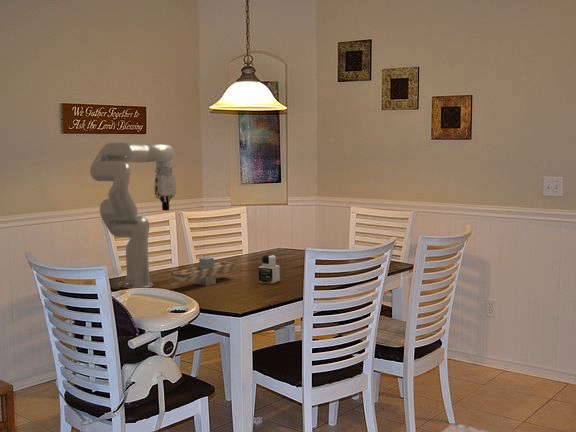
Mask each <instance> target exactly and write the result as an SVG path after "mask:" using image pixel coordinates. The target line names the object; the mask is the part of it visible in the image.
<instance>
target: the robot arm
mask: <svg viewBox="0 0 576 432" xmlns="http://www.w3.org/2000/svg"><path fill="white" fill-rule="evenodd" d="M174 155H175V150H174V148H173V146H171V145H170V144H160V143H159V144H157V143H155V144H154V143H145V142H142V143H141V142H108V143H106V144H104V145H103V146H102V148H101V149H100V150H99V152H97V155H96V156H95V158H94V160H93V161H92V163H91V166H90V167H89V168H90V169H89V172H90V173H89V174H90V177H91V178H92V180H94V181H96V182H112V185H111V187H110V188H109V191H108V195H107V197H108V198H106V199H103V201H102V202H101V203H100V206H99V214H100V218H101V219H102V222H103V223H104V225H105V226H106V228H107V229H108V231H109V233H110V234H111V235H112V236H113V237H116V238H129V241H128V242H127V244H126V246H125V261H126V265H125V267H126V277H125V278H124V280H123V281H118V282H117V285H118V287H123V288H124V287H126V288H137V287H145V288H148V289H151V288H153V287H154V283H153V282H151V281H150V268H149V265H150V264H149V233H150V232H149V231H150V222H149V220H148V219H147V218H146V217H144V216H141V215H140V216H139V215H138V213H139V212H138V208H137V206H136V204H135V202H134V200H133V197H132V196H131V193H130V192H129V184H130V177H131V167H130V165H129V164H128V163H152V162H153V163H154V162H155V170H154V172H155V176H154V185H153V186H154V187H153V189H154V195H155V198H156V199H157V200H160V202H161V207H162V208H161V210H162V211H166V212H167V211H170V202H171V199H172V198H174V197H175V195H177V183H176V177H175V174H174V173H173V159H174ZM152 286H153V287H152ZM150 287H151V288H150Z"/></svg>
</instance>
